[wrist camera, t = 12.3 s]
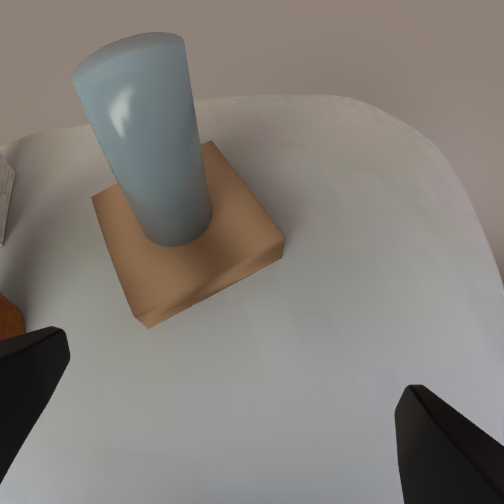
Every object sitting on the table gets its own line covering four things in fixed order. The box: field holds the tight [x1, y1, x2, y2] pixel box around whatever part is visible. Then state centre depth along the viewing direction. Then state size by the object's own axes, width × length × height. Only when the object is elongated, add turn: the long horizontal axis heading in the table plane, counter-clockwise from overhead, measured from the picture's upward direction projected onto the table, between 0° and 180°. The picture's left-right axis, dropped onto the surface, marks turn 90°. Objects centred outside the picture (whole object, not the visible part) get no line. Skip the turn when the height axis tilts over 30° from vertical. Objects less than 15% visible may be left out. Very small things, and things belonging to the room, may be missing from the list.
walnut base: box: [91, 141, 285, 329], centre depth 24 cm, size 11×11×3 cm
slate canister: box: [72, 32, 212, 247], centre depth 17 cm, size 5×5×12 cm
